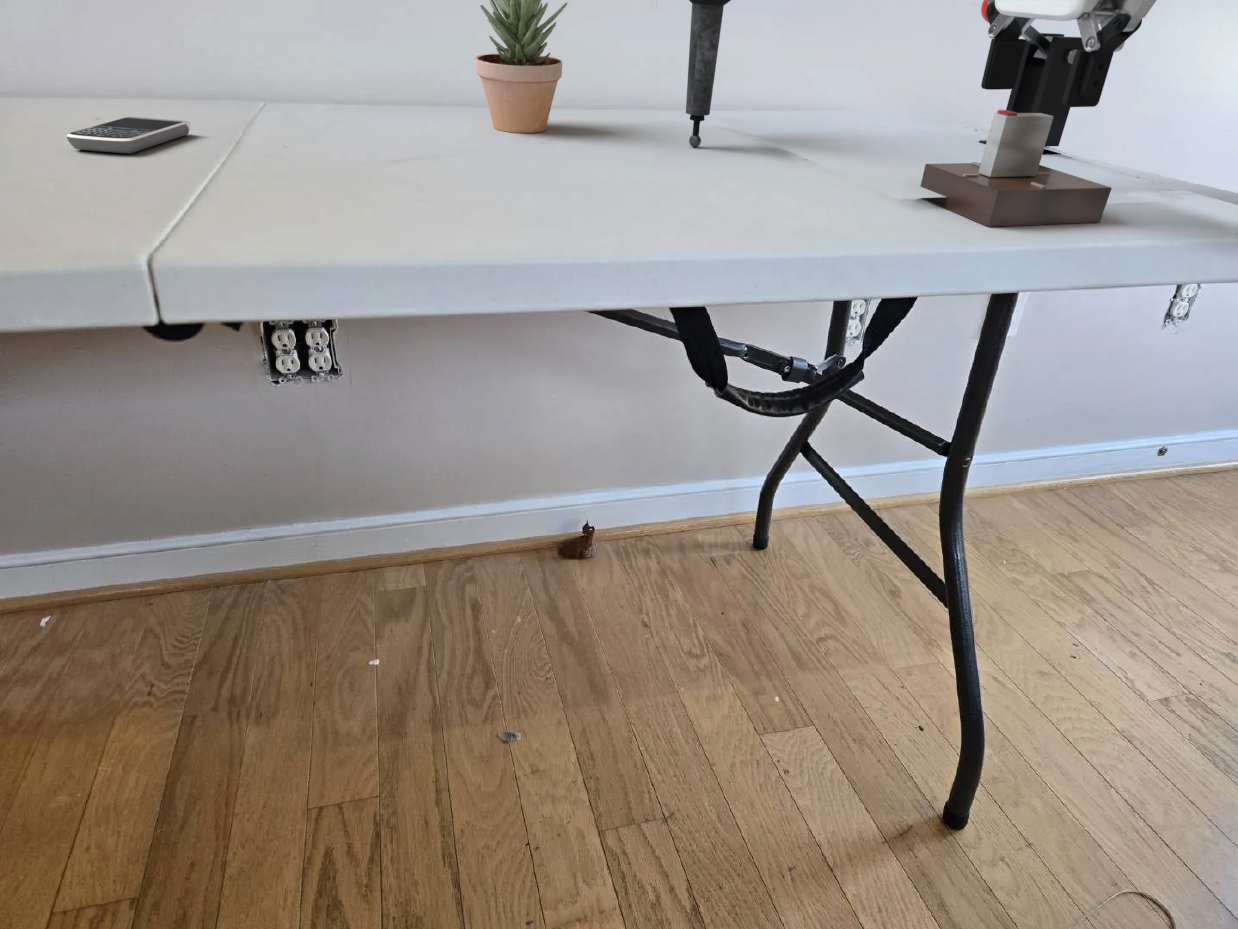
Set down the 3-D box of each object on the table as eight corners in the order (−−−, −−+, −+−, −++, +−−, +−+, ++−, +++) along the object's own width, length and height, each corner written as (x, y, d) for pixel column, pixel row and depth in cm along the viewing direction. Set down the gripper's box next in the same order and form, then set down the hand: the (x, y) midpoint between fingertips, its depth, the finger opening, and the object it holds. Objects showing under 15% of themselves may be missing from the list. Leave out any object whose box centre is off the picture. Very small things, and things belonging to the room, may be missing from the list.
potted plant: (481, 135, 93) (473, -141, 80) (474, 119, 101) (466, -134, 88) (571, 136, 95) (578, -132, 82) (557, 121, 103) (561, -126, 90)
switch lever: (988, 15, 88) (1007, -17, 87) (969, 12, 90) (987, -18, 89) (1062, 75, 94) (1080, 46, 93) (1041, 71, 97) (1059, 43, 96)
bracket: (1016, 163, 96) (1052, 37, 89) (976, 150, 101) (1007, 30, 95) (1072, 162, 98) (1112, 39, 92) (1030, 150, 104) (1064, 33, 97)
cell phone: (64, 151, 76) (59, 134, 75) (137, 129, 86) (133, 114, 85) (130, 156, 76) (126, 140, 75) (196, 134, 85) (193, 119, 84)
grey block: (1023, 172, 77) (1041, 109, 74) (1036, 176, 75) (1055, 113, 73) (977, 173, 75) (994, 109, 72) (989, 177, 74) (1007, 112, 71)
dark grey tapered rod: (654, 147, 92) (670, -70, 82) (675, 138, 98) (692, -67, 87) (715, 156, 90) (738, -66, 80) (733, 145, 96) (757, -64, 85)
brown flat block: (1021, 193, 83) (1031, 160, 81) (1100, 222, 75) (1113, 185, 73) (917, 196, 79) (925, 161, 78) (988, 227, 71) (999, 188, 70)
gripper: (982, -147, 69) (935, 83, 78) (1158, -168, 55) (1077, 115, 64) (1057, -141, 71) (1003, 82, 80) (1244, -160, 57) (1154, 113, 66)
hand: (1035, 96), depth 72 cm, fingers open, 9 cm apart
